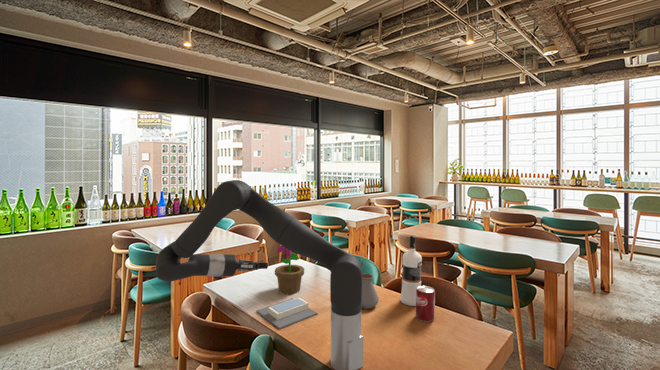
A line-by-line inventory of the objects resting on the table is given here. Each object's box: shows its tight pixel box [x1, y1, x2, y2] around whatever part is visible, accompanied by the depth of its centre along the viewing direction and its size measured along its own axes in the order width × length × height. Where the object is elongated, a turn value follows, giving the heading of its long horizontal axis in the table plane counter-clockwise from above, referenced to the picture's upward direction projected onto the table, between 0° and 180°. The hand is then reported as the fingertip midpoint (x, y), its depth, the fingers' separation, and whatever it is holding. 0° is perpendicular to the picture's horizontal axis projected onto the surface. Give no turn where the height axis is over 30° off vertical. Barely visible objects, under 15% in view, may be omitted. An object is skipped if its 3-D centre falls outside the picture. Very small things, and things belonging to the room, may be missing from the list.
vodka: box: [399, 235, 423, 307], centre depth 138 cm, size 9×9×30 cm
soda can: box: [414, 285, 436, 323], centre depth 124 cm, size 7×7×12 cm
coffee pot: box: [361, 273, 380, 310], centre depth 138 cm, size 21×12×15 cm, turn 58°
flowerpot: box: [274, 240, 305, 295], centre depth 150 cm, size 14×14×30 cm
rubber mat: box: [256, 297, 318, 330], centre depth 128 cm, size 18×18×1 cm
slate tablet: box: [268, 297, 309, 320], centre depth 128 cm, size 7×3×15 cm
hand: (266, 265), depth 118 cm, fingers closed
